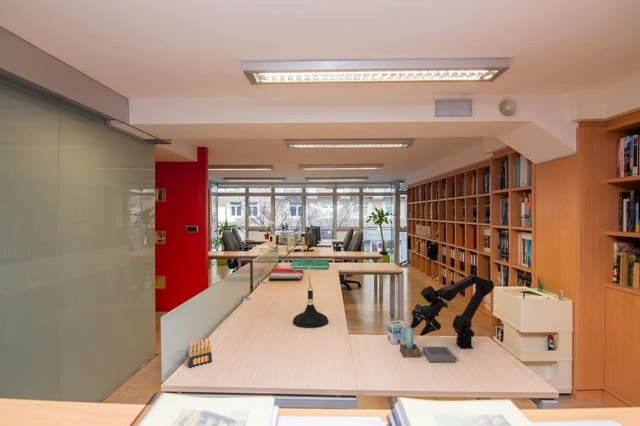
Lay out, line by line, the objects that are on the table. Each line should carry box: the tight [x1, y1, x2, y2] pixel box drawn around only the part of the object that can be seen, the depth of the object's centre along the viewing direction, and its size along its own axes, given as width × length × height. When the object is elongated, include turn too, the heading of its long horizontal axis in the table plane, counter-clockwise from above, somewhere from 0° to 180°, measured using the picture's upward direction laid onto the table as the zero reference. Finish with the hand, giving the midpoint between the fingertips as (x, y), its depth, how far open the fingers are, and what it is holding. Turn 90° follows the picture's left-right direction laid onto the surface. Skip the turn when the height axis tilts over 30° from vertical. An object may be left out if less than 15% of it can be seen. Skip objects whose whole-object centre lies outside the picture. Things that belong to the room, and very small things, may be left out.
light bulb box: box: [387, 319, 411, 345], centre depth 192 cm, size 11×7×11 cm, turn 105°
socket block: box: [399, 343, 421, 358], centre depth 175 cm, size 8×8×4 cm
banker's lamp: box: [289, 259, 331, 329], centre depth 227 cm, size 26×23×40 cm
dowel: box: [405, 327, 414, 349], centre depth 175 cm, size 4×4×13 cm
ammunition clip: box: [187, 337, 213, 369], centre depth 165 cm, size 11×2×12 cm, turn 127°
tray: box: [422, 346, 456, 364], centre depth 170 cm, size 12×12×3 cm
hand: (415, 332), depth 176 cm, fingers open, 9 cm apart
